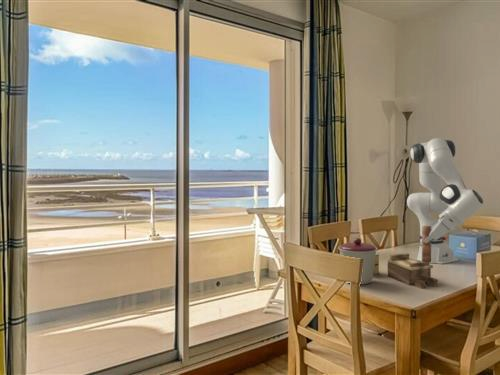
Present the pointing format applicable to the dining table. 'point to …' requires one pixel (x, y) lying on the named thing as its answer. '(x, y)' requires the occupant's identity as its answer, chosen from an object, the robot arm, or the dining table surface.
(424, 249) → the reddish brown cylinder
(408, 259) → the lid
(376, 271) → the puzzle cube
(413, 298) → the dining table surface
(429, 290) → the dining table surface
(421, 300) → the dining table surface
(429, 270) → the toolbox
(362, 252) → the canister
